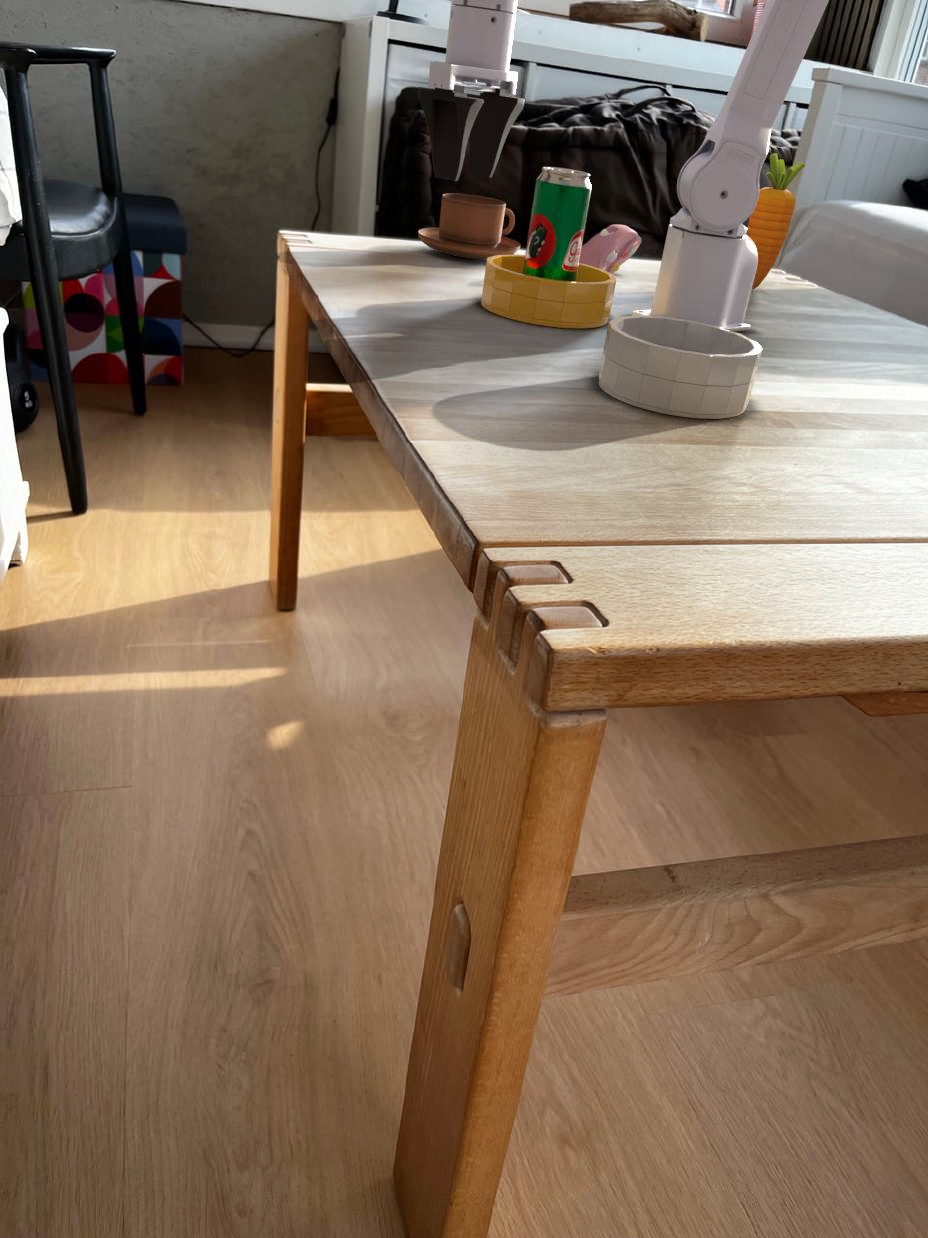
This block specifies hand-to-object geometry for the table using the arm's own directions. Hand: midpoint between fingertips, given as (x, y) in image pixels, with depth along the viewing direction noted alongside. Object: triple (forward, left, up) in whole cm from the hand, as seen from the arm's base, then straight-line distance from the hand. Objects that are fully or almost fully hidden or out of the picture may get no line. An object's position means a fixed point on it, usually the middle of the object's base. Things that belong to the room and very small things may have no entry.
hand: (464, 177), depth 96 cm
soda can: (-4, +9, -10) cm, 14 cm away
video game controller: (-26, -3, -11) cm, 28 cm away
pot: (+6, +32, -10) cm, 34 cm away
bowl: (-4, +9, -10) cm, 14 cm away
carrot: (-43, +7, -11) cm, 45 cm away
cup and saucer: (-16, -15, -11) cm, 24 cm away
